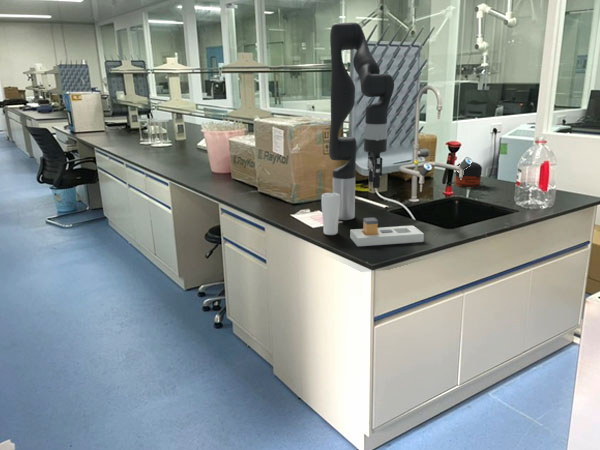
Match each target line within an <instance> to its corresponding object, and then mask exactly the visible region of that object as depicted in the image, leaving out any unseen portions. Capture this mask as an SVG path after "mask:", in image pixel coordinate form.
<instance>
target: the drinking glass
mask: <svg viewBox="0 0 600 450" xmlns="http://www.w3.org/2000/svg"><path fill="white" fill-rule="evenodd" d="M339 209H340V194H338V193H333V192H325V193H322V194H321V214H322V226H323V234H324V235H327V236H335V235H337V234H338V232H339V221H340V220H339Z"/></svg>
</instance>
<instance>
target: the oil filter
mask: <svg viewBox="0 0 600 450" xmlns="http://www.w3.org/2000/svg"><path fill="white" fill-rule="evenodd" d="M471 162H472V163H471V166H470V167H468V168H467V169H465V170H464V175H463V178H462V180H460V178H459V173H458V172H457V171H456V170H455V173H454V174H455V179H454V186H455V185H456V186H455V187H458V186H461V187H460V188H463V187H477V188H480V187H481V177H482V171H483V167H482V165H481V164H479V163H477V162H474V161H471ZM460 163H461V162H460ZM460 163H457V164H456V166H459V165H460ZM479 186H480V187H479Z"/></svg>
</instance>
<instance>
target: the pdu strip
mask: <svg viewBox="0 0 600 450" xmlns="http://www.w3.org/2000/svg"><path fill="white" fill-rule="evenodd" d="M349 233H350V235H349V238H350V239H351V241H352V242H353V243H354V244H355V245H356V246H357V247H367V246H368V247H369V246H370V247H371V246H383V245H396V244H410V243H424V239H425V238H424V237H425V235H424V234H425V233H423V232H422V231H421V230H420V229H418V228H417V227H415V226H414V225H399V226H385V227H384V226H381V227H378V232H377V235H364V233H363V228H355V229H350V231H349Z"/></svg>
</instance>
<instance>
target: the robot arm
mask: <svg viewBox="0 0 600 450" xmlns="http://www.w3.org/2000/svg"><path fill="white" fill-rule="evenodd" d="M329 39H330V40H329V42H330V60H331V61H330V62H331V63H330V65H331V73H330V74H331V79H330V129H329V130H330V131H329V132H330V133H329V142H328V143H329V144H328V152H329V153H328V155H329V157H330V160H331V161H347V162H346V163H344V164H343V165H342V166H339V167H336V168H335V169H333V170H332V193H338V194H340V209H339V220H338V221H340V220H341V221H348V220H353V219H355V213H356V211H355V209H356V207H355V206H356V204H355V203H356V161H357V150H358V149H357V139H356V138H355V137H354V136H339V134H340V130H341V128H342V126H343V124H344V122H345V120H347V117H348V116H350V114H351V112H352V110H353V108H354V106H355V102H356V100H355V99H356V85H355V83H354V80H353V79H352V77H351V75H350V74H349V72H348V70H347V69H346V65H345V64H344V61H343V55H342V54H343V53H342V51H351V50H356V52H355V54H354V57H353V61H352V63H353V68H354V70H355V72H356V73H357V75H358V77H359V82H360V90H361V91H360V92H361V93H362V95H364V96H365V97H367V98H378V100H377V102H375V103H373V104H369V105H366V107H365V119H364V121H365V124H364V133H363V134H364V136H363V151H364V152H366V153H367V171H368V182H369V183H372V188H373V189H379V188H380V186H381V183H380V182H381V177H382V175H383V160H384V159H383V157H381V153H386V152H387V149H388V148H387V147H388V145H387V143H388V110H389V106H390V104H391V103H390V102H391V99H392V96H393V93H394V90H395V89H394V88H395V81H394V77H393V76H392V75H391V74H388V73H380V72H381V70H380V66H379V64H378V63H377V61H376V60H375V58H374V57H373V55H372V53H371V51H370V48H369V45H368V41H367V40H366V36H365V33H364V31H363V28H362V27H361V25H360V24H359V23H357V22H335V23H333V24H332V26H331V28H330V36H329Z"/></svg>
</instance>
